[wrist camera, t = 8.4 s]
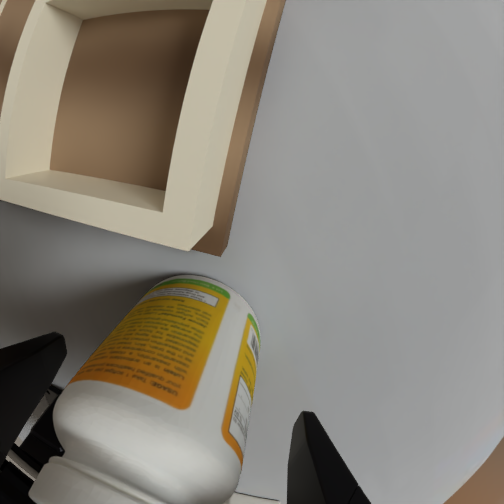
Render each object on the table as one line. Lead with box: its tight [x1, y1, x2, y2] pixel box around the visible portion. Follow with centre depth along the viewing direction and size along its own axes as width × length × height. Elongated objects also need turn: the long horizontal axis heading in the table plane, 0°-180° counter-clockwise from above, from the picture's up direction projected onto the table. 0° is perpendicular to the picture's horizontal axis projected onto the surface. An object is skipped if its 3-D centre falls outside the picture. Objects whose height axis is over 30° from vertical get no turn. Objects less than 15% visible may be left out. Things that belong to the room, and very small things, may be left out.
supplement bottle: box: [29, 275, 260, 504], centre depth 8 cm, size 5×5×10 cm
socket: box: [0, 0, 267, 252], centre depth 7 cm, size 8×8×2 cm
